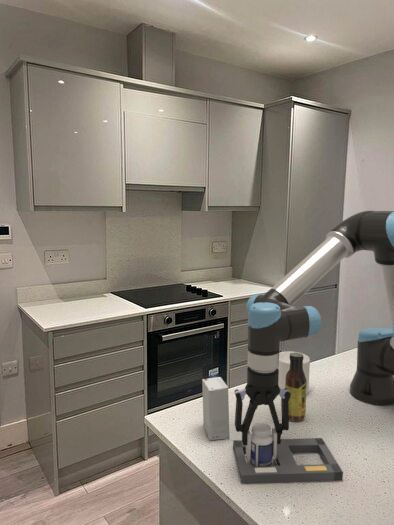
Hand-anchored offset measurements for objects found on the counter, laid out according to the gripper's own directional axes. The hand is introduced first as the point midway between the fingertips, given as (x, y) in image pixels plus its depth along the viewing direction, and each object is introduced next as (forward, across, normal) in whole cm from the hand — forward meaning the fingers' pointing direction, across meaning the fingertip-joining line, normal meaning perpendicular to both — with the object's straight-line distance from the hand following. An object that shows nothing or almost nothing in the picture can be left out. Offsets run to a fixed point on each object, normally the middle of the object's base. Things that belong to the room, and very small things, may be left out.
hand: (260, 455), depth 101 cm
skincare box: (+3, +10, -15) cm, 18 cm away
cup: (+3, -19, -40) cm, 44 cm away
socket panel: (+2, -6, 0) cm, 6 cm away
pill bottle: (+3, 0, 0) cm, 3 cm away
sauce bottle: (+3, -15, -22) cm, 27 cm away
